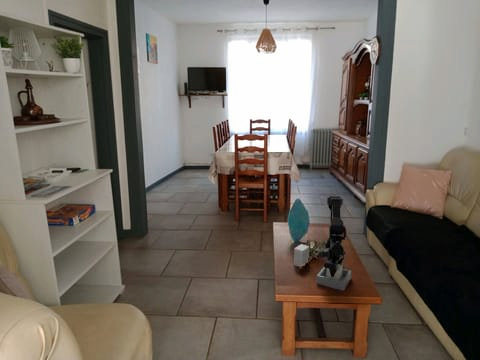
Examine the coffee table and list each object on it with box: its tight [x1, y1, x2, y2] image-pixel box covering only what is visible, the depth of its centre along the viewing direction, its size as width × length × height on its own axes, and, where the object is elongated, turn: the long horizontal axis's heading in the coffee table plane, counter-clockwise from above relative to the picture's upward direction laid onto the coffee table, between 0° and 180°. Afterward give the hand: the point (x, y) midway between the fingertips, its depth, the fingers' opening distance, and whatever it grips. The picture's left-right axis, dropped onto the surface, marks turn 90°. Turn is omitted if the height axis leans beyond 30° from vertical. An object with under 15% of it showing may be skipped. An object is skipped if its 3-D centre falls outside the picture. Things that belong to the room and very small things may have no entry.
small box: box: [293, 243, 310, 267], centre depth 206 cm, size 8×6×10 cm
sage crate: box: [326, 264, 343, 280], centre depth 187 cm, size 6×6×6 cm
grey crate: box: [316, 266, 352, 292], centre depth 188 cm, size 14×14×4 cm
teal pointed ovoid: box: [287, 197, 311, 243], centre depth 233 cm, size 12×14×30 cm
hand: (334, 274), depth 187 cm, fingers closed on sage crate, 6 cm apart
